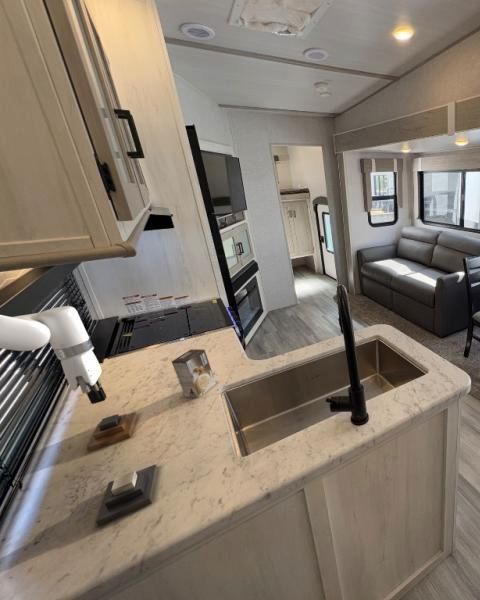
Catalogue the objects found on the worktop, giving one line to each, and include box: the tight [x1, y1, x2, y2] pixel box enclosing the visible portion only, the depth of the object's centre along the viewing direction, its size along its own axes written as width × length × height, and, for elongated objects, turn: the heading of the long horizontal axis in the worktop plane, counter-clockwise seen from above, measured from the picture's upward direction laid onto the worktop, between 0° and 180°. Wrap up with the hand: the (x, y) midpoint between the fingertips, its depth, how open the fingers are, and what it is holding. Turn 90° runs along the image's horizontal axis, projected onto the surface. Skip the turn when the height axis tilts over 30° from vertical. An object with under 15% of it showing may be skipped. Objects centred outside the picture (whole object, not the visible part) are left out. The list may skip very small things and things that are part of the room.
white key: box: [111, 470, 138, 496], centre depth 76 cm, size 4×4×2 cm
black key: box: [99, 413, 120, 431], centre depth 98 cm, size 4×4×2 cm
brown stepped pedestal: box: [86, 411, 138, 453], centre depth 99 cm, size 10×12×4 cm
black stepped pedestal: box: [95, 463, 159, 527], centre depth 77 cm, size 10×12×4 cm
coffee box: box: [171, 348, 217, 398], centre depth 116 cm, size 9×6×16 cm
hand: (99, 400), depth 95 cm, fingers closed
